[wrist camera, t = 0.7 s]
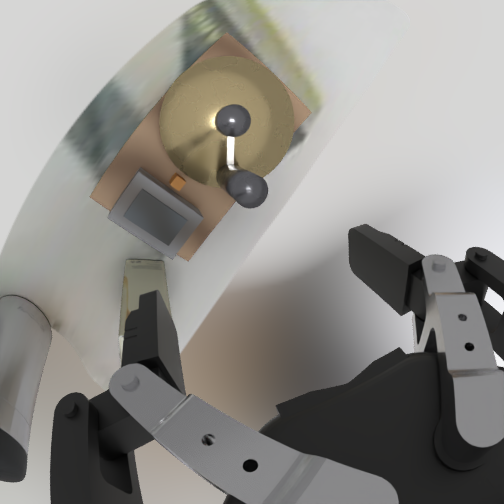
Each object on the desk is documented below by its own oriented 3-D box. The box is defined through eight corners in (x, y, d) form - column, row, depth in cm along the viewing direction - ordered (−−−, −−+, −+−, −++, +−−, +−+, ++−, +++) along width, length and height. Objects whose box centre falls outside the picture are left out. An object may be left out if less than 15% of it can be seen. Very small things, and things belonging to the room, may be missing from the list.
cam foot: (282, 184, 29) (324, 204, 22) (160, 190, 25) (164, 215, 18) (287, 67, 24) (333, 52, 17) (161, 60, 20) (164, 32, 13)
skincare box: (125, 258, 28) (116, 332, 18) (165, 260, 30) (176, 333, 19) (125, 308, 31) (123, 390, 20) (161, 309, 32) (173, 390, 22)
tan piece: (186, 255, 30) (192, 276, 26) (92, 193, 24) (81, 205, 20) (304, 112, 28) (328, 112, 24) (223, 36, 22) (236, 21, 18)
